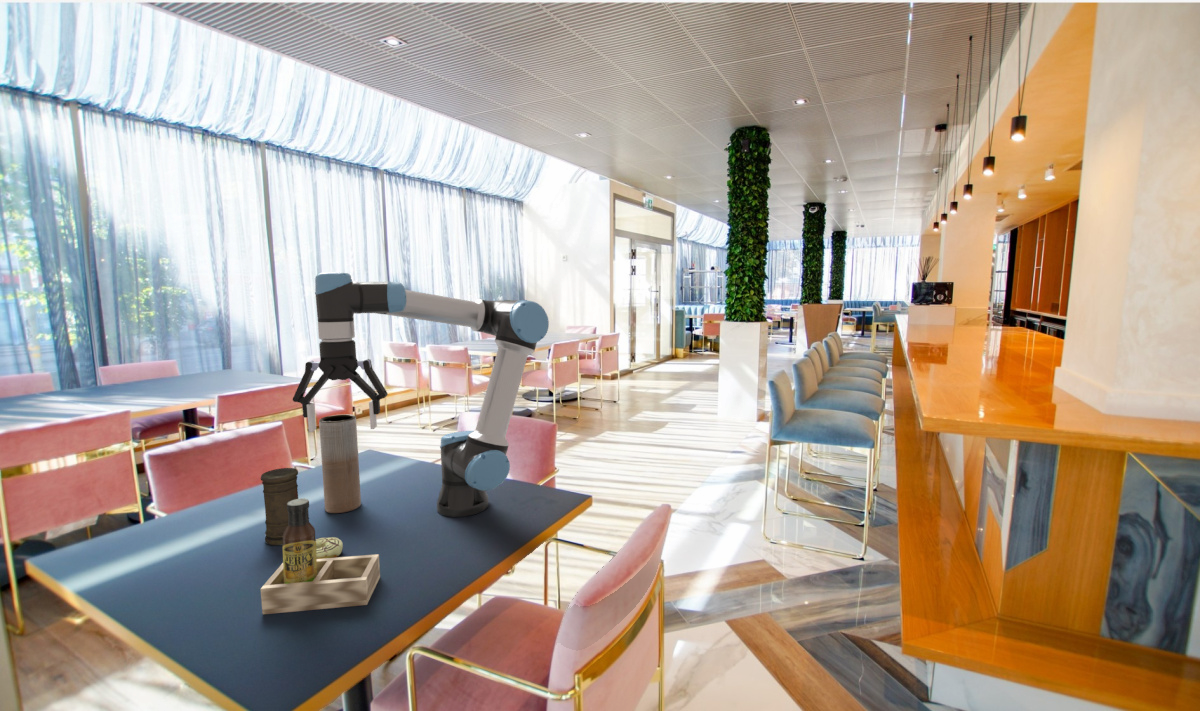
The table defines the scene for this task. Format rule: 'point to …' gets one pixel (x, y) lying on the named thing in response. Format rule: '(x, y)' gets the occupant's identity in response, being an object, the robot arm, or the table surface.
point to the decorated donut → (328, 547)
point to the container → (278, 501)
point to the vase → (340, 463)
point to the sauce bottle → (299, 544)
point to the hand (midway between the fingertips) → (343, 429)
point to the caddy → (324, 586)
